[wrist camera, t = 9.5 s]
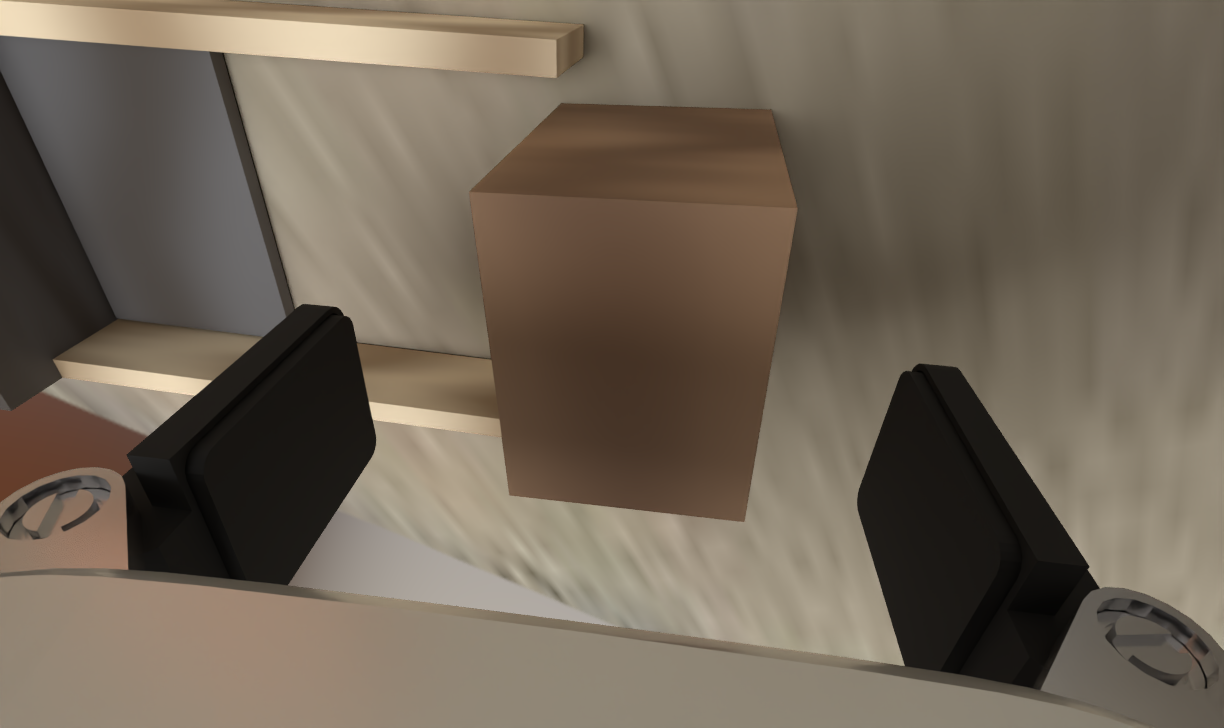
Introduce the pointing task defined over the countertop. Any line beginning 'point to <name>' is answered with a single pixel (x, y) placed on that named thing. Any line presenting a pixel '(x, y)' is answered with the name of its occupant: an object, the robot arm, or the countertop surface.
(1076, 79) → the countertop surface
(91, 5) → the birch chute
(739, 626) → the countertop surface
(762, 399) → the walnut block
